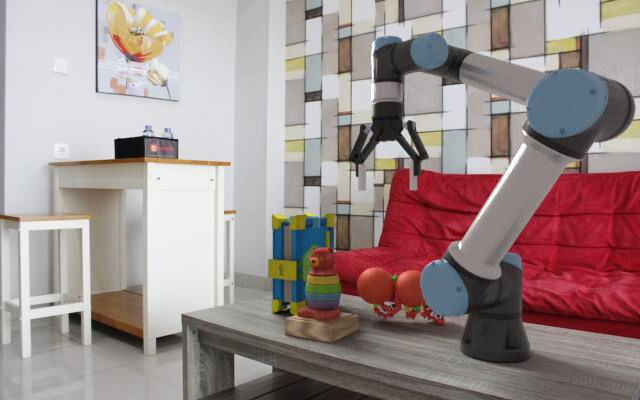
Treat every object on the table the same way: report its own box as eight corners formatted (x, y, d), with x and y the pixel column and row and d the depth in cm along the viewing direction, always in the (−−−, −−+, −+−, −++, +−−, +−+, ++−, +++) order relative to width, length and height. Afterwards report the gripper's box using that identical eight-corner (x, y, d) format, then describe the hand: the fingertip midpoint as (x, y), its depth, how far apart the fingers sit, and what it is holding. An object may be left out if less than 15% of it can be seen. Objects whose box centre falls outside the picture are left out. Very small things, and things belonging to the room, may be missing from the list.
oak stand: (358, 329, 136) (358, 313, 136) (331, 342, 124) (331, 324, 124) (314, 322, 143) (314, 307, 143) (284, 334, 131) (284, 317, 131)
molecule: (355, 326, 140) (355, 269, 140) (358, 317, 150) (358, 264, 150) (449, 330, 136) (449, 272, 136) (446, 320, 146) (446, 266, 146)
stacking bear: (293, 315, 133) (293, 247, 133) (319, 309, 141) (319, 244, 141) (324, 322, 126) (324, 250, 126) (350, 315, 134) (350, 247, 134)
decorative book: (263, 313, 155) (263, 214, 155) (308, 300, 174) (308, 212, 174) (301, 319, 147) (301, 215, 147) (344, 305, 166) (344, 213, 166)
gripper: (442, 100, 121) (442, 190, 121) (349, 110, 134) (349, 190, 134) (430, 94, 114) (430, 189, 115) (335, 105, 128) (335, 190, 128)
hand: (387, 190), depth 124 cm, fingers open, 13 cm apart
